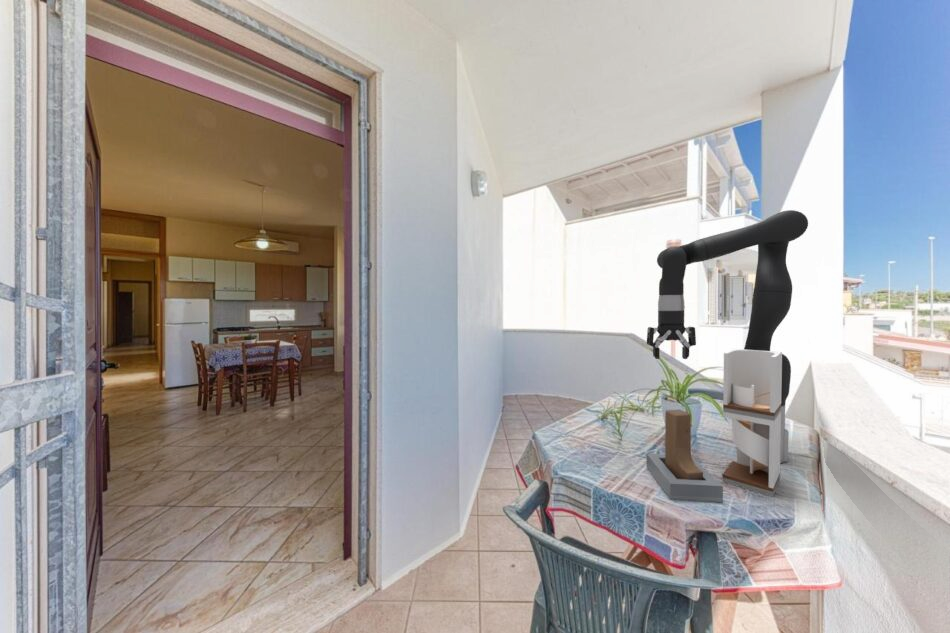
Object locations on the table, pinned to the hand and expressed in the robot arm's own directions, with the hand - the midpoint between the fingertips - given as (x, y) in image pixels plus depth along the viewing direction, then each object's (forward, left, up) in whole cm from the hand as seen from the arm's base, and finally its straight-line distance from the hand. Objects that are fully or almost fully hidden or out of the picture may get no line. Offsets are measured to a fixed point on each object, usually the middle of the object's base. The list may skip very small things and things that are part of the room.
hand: (670, 358), depth 117 cm
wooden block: (+6, +24, -29) cm, 38 cm away
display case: (-13, +20, -30) cm, 39 cm away
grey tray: (+6, +23, -30) cm, 38 cm away
